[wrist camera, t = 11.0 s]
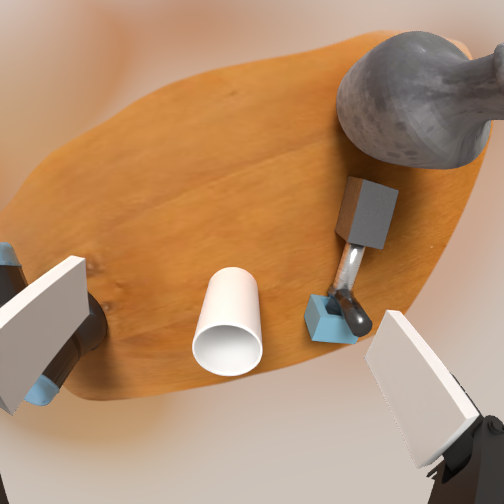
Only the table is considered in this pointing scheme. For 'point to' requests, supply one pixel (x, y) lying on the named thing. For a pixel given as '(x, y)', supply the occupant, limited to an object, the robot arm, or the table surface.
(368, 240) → the block
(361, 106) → the vase
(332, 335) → the socket
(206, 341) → the cup
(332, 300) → the handle
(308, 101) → the table surface
